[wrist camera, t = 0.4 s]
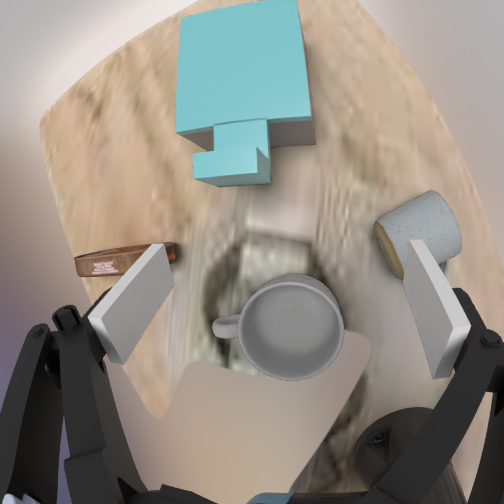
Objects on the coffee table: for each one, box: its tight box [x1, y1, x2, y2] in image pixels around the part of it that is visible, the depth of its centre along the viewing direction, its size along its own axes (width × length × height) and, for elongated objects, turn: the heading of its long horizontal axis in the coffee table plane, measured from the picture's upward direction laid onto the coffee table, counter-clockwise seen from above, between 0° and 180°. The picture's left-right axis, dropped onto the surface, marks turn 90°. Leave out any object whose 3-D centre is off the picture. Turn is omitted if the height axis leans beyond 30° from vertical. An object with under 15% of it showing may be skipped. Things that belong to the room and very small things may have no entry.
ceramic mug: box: [374, 190, 462, 279], centre depth 30 cm, size 11×8×8 cm
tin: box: [74, 242, 176, 277], centre depth 38 cm, size 15×3×8 cm, turn 96°
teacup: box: [212, 274, 344, 381], centre depth 34 cm, size 14×11×8 cm
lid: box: [176, 0, 312, 187], centre depth 25 cm, size 21×13×7 cm, turn 2°
